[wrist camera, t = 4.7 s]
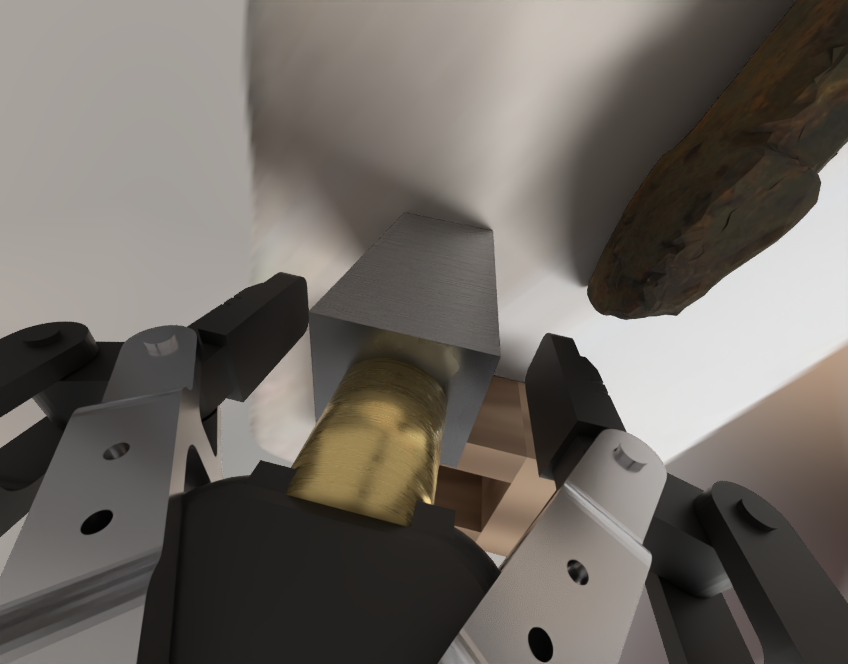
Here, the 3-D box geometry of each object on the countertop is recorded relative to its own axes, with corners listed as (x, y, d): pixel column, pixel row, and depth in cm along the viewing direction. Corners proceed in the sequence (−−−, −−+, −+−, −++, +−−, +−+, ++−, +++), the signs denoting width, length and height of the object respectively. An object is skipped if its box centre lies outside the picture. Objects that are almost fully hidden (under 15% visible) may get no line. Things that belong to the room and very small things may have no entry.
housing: (372, 347, 18) (338, 410, 14) (572, 394, 18) (598, 475, 14) (364, 446, 24) (339, 512, 20) (515, 484, 23) (522, 560, 19)
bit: (404, 212, 14) (193, 429, 4) (493, 231, 13) (509, 512, 4) (395, 291, 16) (247, 555, 6) (470, 308, 16) (443, 609, 6)
